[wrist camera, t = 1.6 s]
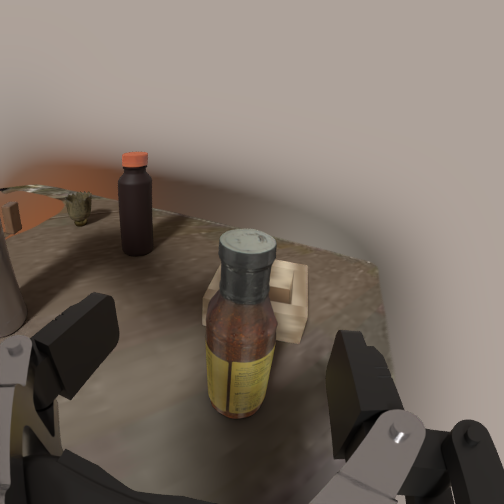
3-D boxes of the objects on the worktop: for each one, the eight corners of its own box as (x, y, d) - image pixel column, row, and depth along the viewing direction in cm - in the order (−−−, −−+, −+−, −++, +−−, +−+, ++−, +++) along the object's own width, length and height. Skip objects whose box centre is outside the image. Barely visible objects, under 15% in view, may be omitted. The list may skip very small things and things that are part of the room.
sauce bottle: (268, 387, 31) (307, 234, 22) (253, 428, 25) (294, 273, 16) (217, 370, 32) (228, 215, 23) (196, 408, 27) (192, 246, 18)
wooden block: (14, 234, 54) (8, 206, 50) (6, 233, 53) (0, 206, 50) (22, 228, 57) (18, 201, 53) (14, 227, 57) (9, 201, 53)
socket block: (202, 324, 39) (202, 297, 37) (225, 275, 51) (227, 251, 49) (299, 344, 38) (307, 317, 36) (301, 289, 50) (307, 265, 48)
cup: (70, 220, 65) (67, 192, 61) (94, 217, 68) (92, 189, 64) (66, 231, 59) (62, 201, 55) (93, 228, 62) (90, 197, 58)
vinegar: (154, 241, 60) (154, 150, 50) (152, 256, 54) (150, 156, 45) (125, 241, 58) (121, 151, 49) (119, 256, 52) (113, 157, 43)
